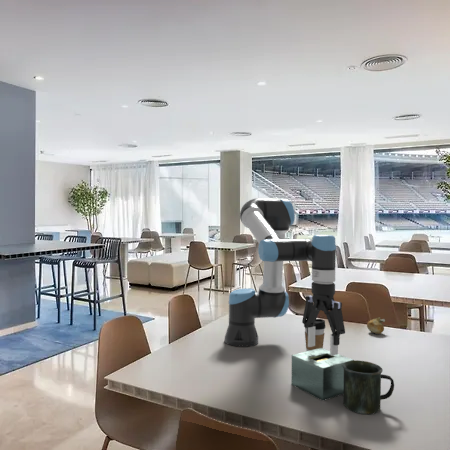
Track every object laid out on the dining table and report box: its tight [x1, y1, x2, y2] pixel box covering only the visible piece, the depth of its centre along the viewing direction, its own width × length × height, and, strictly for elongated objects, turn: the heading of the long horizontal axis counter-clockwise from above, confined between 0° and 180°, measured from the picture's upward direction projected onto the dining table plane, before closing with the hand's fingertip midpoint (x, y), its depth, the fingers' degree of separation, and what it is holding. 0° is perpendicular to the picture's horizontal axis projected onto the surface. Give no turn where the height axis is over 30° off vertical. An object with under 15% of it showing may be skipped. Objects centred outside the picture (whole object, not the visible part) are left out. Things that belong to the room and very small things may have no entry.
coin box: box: [291, 347, 354, 401], centre depth 132 cm, size 14×14×10 cm
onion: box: [366, 316, 386, 335], centre depth 196 cm, size 8×8×8 cm
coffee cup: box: [303, 318, 326, 352], centre depth 160 cm, size 8×8×15 cm
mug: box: [342, 359, 395, 415], centre depth 118 cm, size 11×15×12 cm
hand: (322, 350), depth 132 cm, fingers open, 9 cm apart
